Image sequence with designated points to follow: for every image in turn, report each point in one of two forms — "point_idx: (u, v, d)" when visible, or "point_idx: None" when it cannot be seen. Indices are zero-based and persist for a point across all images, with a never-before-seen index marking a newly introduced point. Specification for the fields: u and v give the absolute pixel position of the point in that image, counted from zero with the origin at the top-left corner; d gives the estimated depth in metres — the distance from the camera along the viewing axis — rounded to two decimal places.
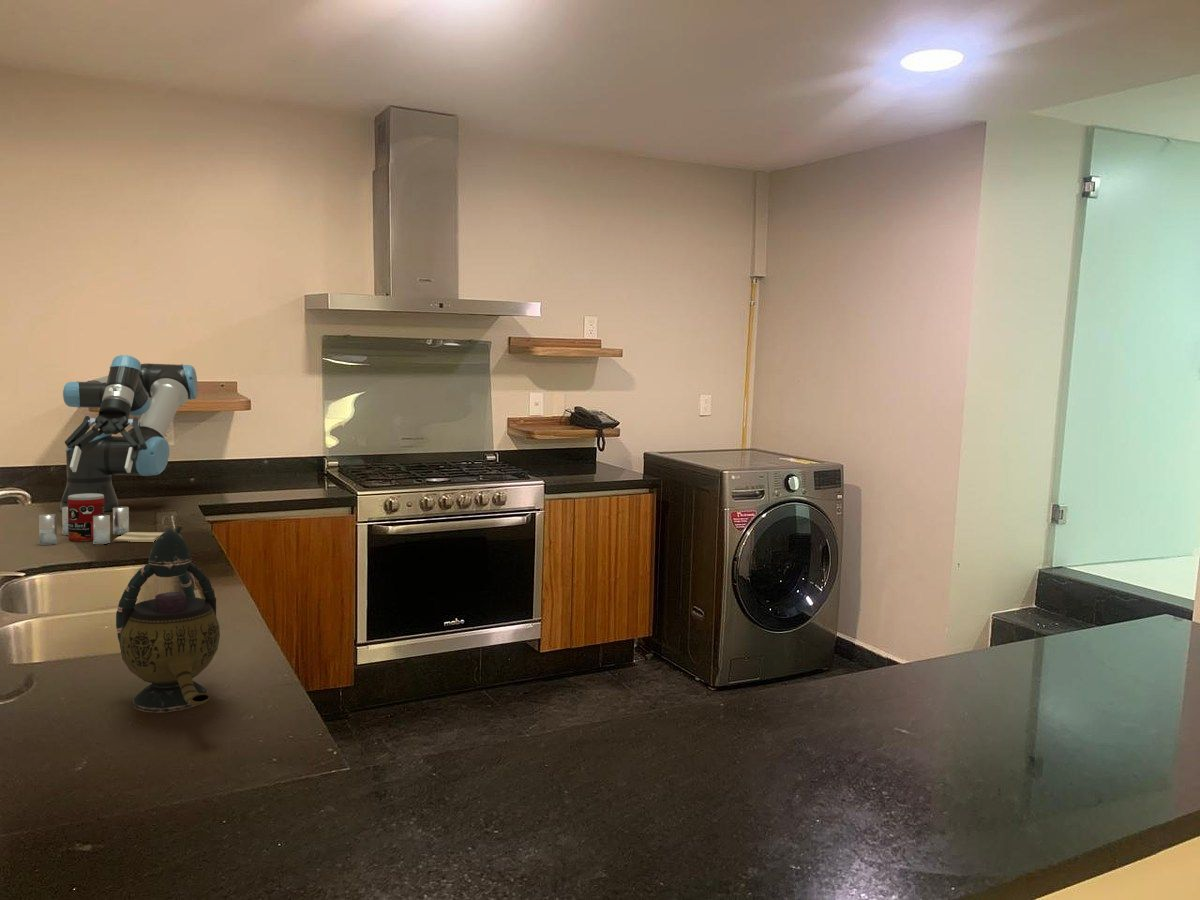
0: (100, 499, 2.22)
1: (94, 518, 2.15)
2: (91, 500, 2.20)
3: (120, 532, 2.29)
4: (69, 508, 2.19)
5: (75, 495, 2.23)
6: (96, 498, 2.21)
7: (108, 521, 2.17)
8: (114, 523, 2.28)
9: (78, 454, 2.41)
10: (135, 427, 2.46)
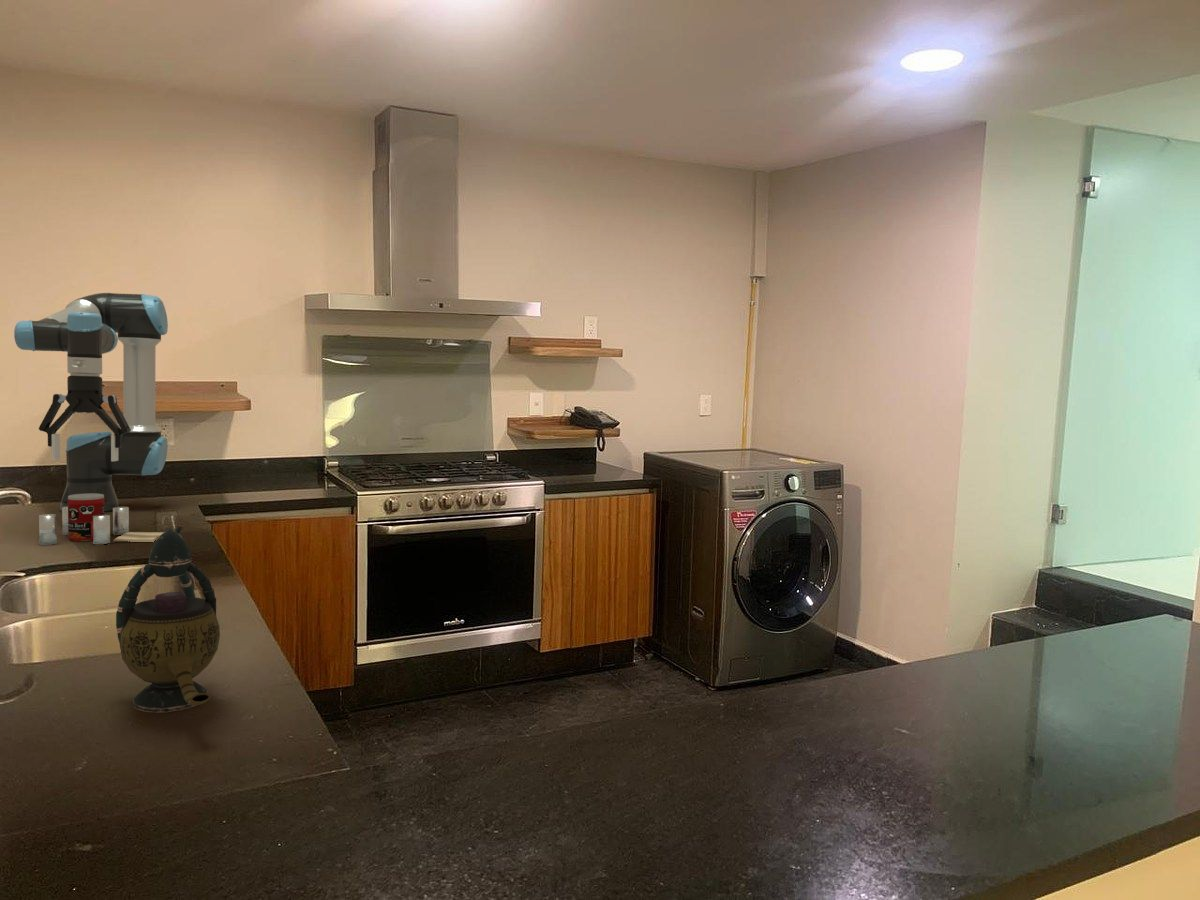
0: (100, 499, 2.22)
1: (94, 518, 2.15)
2: (91, 500, 2.20)
3: (120, 532, 2.29)
4: (69, 508, 2.19)
5: (75, 495, 2.23)
6: (96, 498, 2.21)
7: (108, 521, 2.17)
8: (114, 523, 2.28)
9: (57, 440, 2.21)
10: (112, 409, 2.21)
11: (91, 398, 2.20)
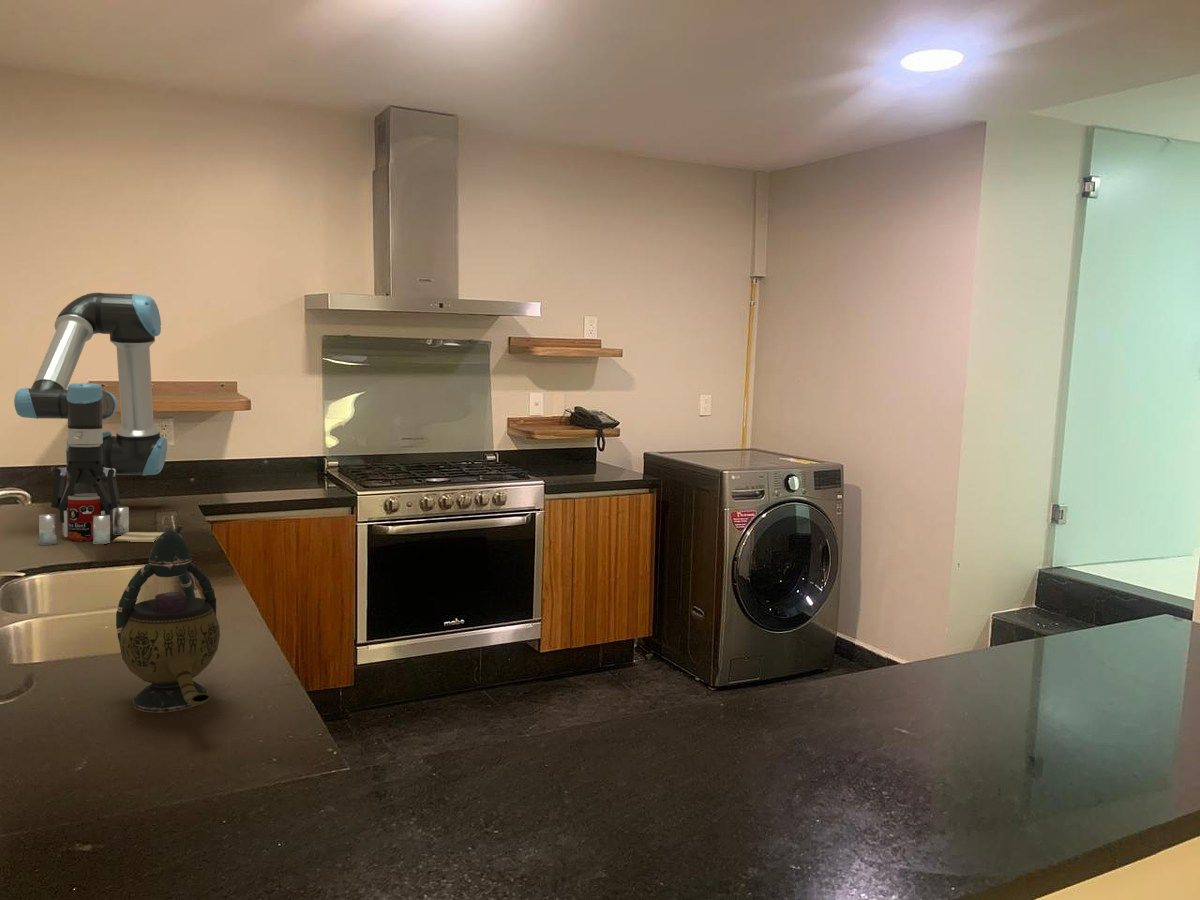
0: None
1: (94, 518, 2.15)
2: (91, 499, 2.20)
3: (120, 532, 2.29)
4: (69, 508, 2.19)
5: (75, 495, 2.23)
6: (96, 498, 2.21)
7: (108, 521, 2.17)
8: (114, 523, 2.28)
9: None
10: (109, 483, 2.22)
11: (92, 467, 2.21)
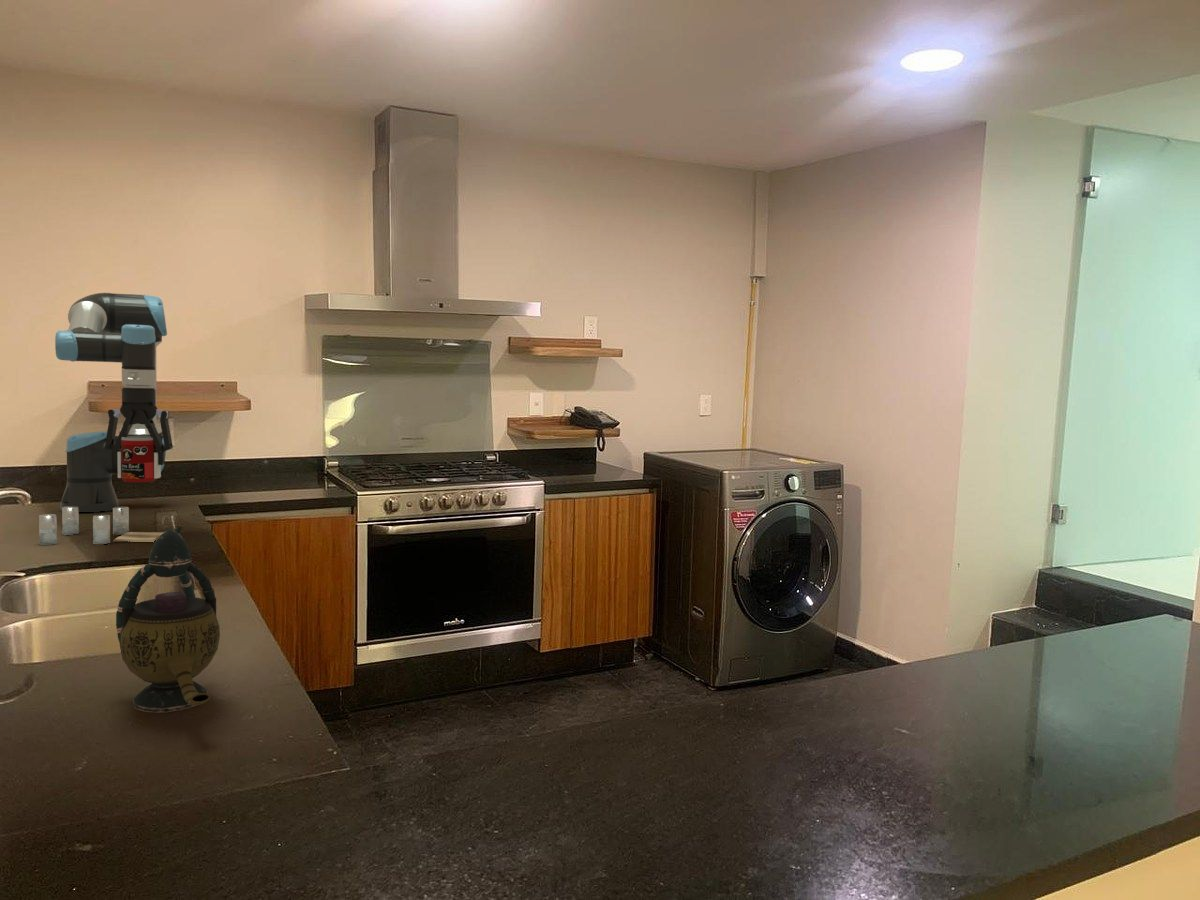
0: None
1: (94, 518, 2.15)
2: (144, 440, 2.21)
3: (120, 532, 2.29)
4: (123, 449, 2.20)
5: (128, 437, 2.24)
6: (149, 439, 2.22)
7: (108, 521, 2.17)
8: (114, 523, 2.28)
9: None
10: (162, 424, 2.23)
11: (145, 408, 2.22)
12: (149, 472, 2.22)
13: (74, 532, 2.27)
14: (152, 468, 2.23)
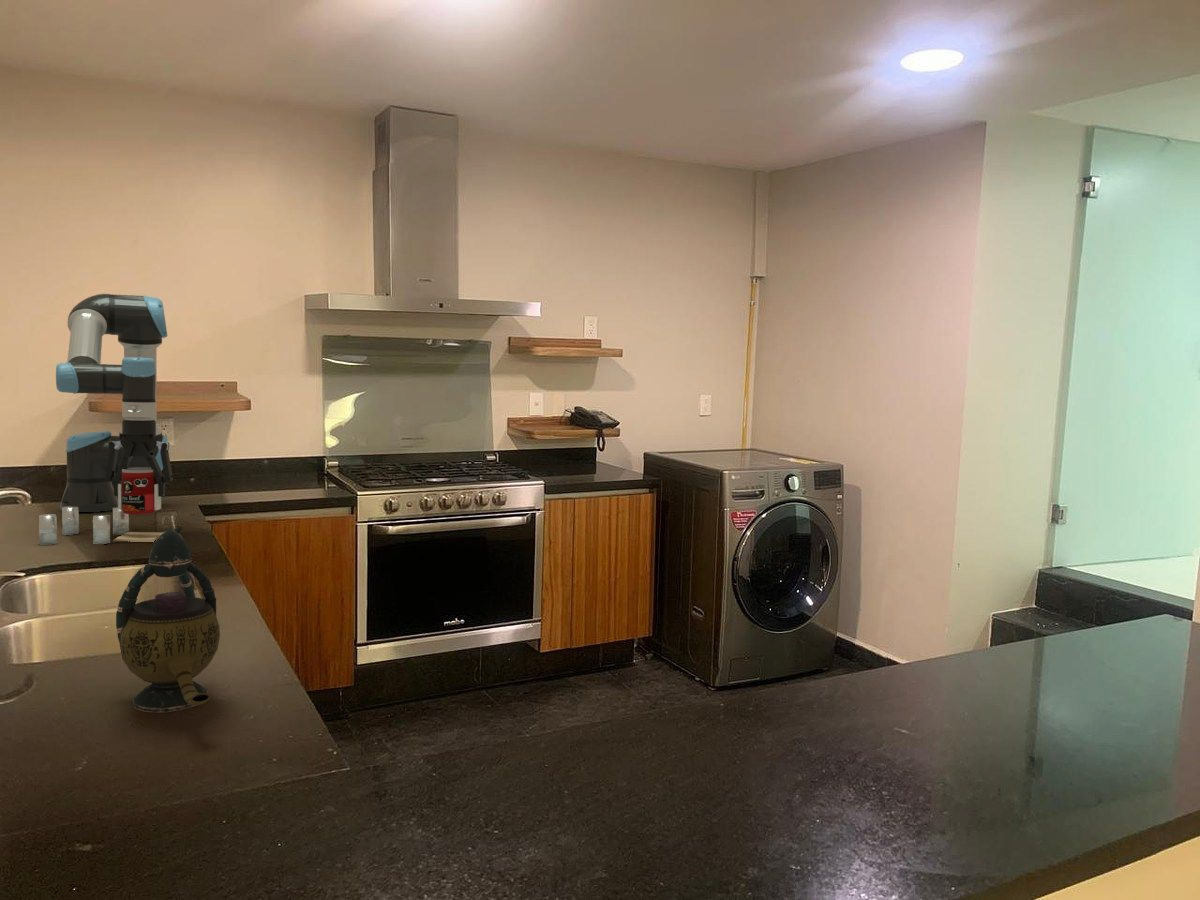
0: (153, 472, 2.24)
1: (94, 518, 2.15)
2: (144, 472, 2.21)
3: (120, 532, 2.29)
4: (123, 481, 2.21)
5: (128, 468, 2.24)
6: (150, 471, 2.22)
7: (108, 521, 2.17)
8: (114, 523, 2.28)
9: None
10: (162, 456, 2.24)
11: (146, 440, 2.23)
12: (150, 504, 2.23)
13: (74, 532, 2.27)
14: (152, 500, 2.24)
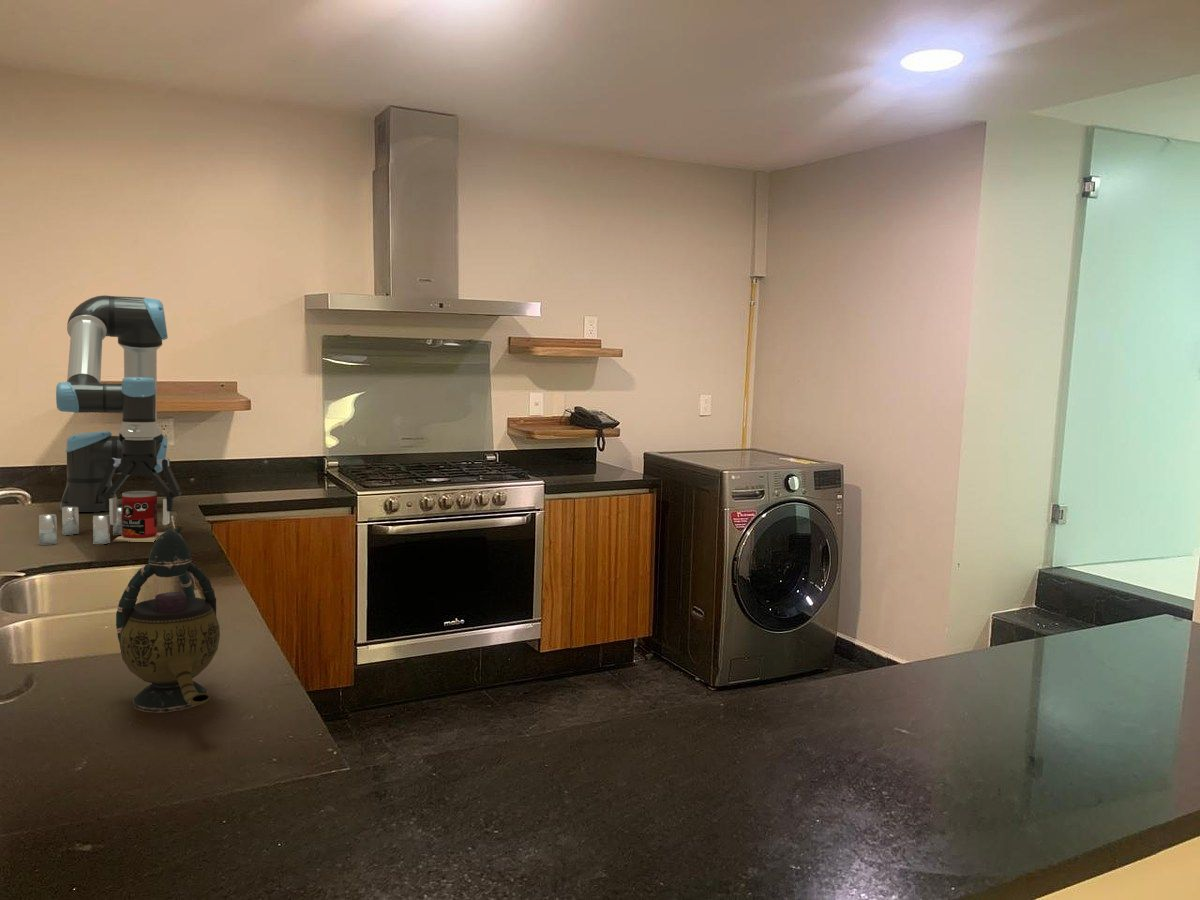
0: (153, 496, 2.24)
1: (94, 518, 2.15)
2: (145, 497, 2.22)
3: (120, 532, 2.29)
4: (123, 505, 2.21)
5: (128, 492, 2.25)
6: (150, 495, 2.23)
7: (108, 521, 2.17)
8: None
9: (115, 504, 2.24)
10: (166, 473, 2.24)
11: (145, 461, 2.23)
12: (150, 528, 2.24)
13: (74, 532, 2.27)
14: (152, 524, 2.24)
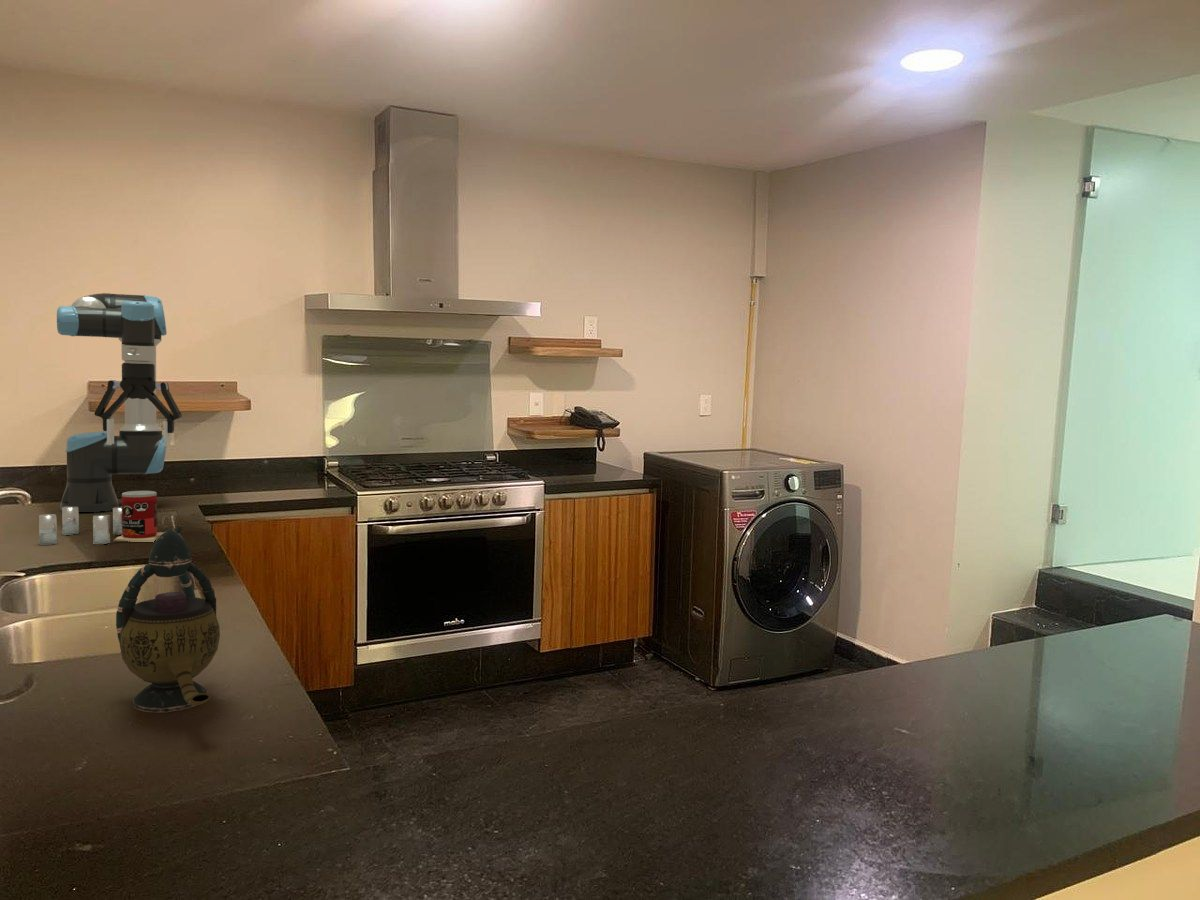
0: (153, 496, 2.24)
1: (94, 518, 2.15)
2: (145, 497, 2.22)
3: (120, 532, 2.29)
4: (123, 505, 2.22)
5: (128, 492, 2.25)
6: (150, 495, 2.23)
7: (108, 521, 2.17)
8: (114, 523, 2.28)
9: (112, 425, 2.29)
10: (165, 395, 2.29)
11: (144, 385, 2.28)
12: (150, 528, 2.24)
13: (74, 532, 2.27)
14: (152, 524, 2.24)
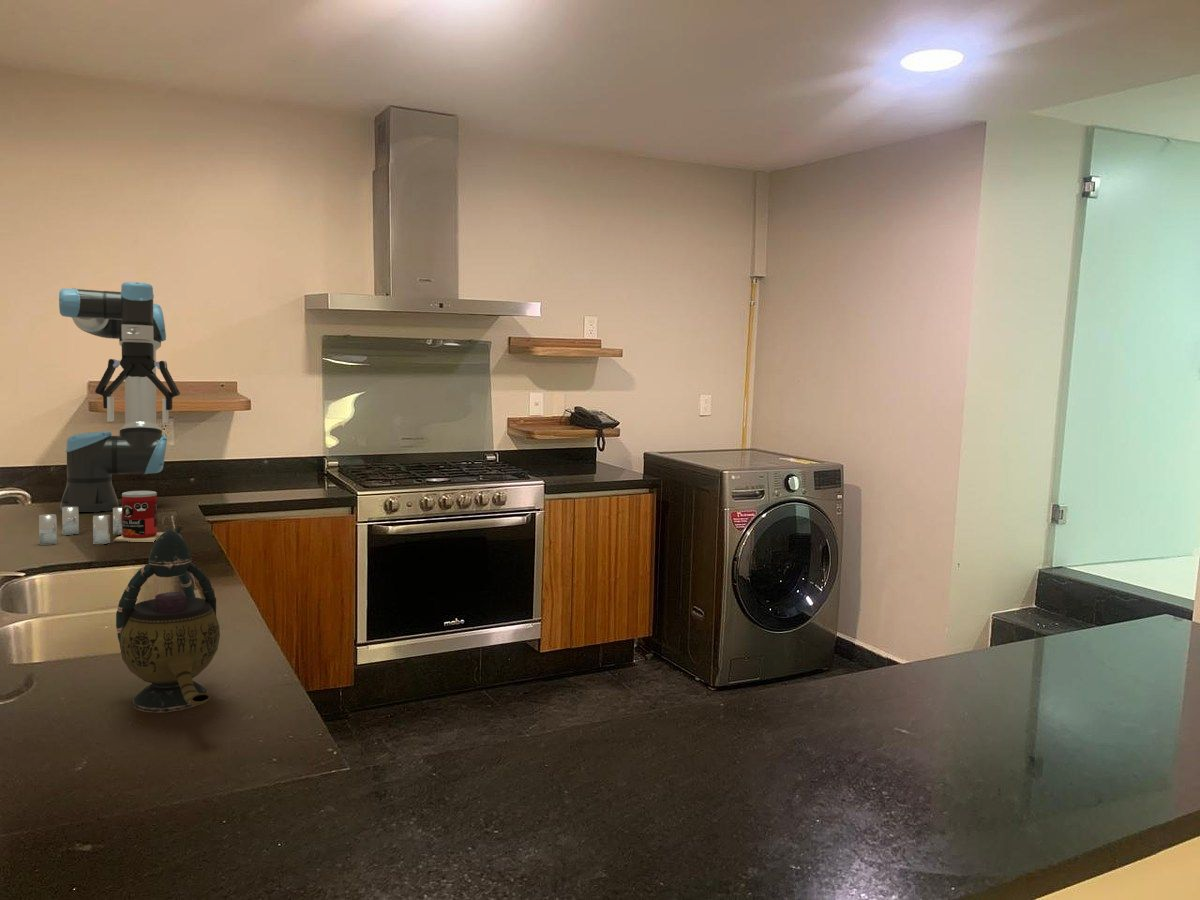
0: (153, 496, 2.24)
1: (94, 518, 2.15)
2: (145, 497, 2.22)
3: (120, 532, 2.29)
4: (123, 505, 2.22)
5: (128, 492, 2.25)
6: (150, 495, 2.23)
7: (108, 521, 2.17)
8: (114, 523, 2.28)
9: (112, 402, 2.36)
10: (163, 373, 2.36)
11: (144, 363, 2.35)
12: (150, 528, 2.24)
13: (74, 532, 2.27)
14: (152, 524, 2.24)
